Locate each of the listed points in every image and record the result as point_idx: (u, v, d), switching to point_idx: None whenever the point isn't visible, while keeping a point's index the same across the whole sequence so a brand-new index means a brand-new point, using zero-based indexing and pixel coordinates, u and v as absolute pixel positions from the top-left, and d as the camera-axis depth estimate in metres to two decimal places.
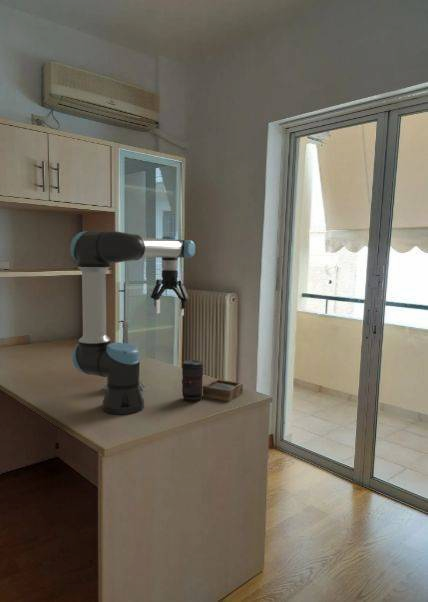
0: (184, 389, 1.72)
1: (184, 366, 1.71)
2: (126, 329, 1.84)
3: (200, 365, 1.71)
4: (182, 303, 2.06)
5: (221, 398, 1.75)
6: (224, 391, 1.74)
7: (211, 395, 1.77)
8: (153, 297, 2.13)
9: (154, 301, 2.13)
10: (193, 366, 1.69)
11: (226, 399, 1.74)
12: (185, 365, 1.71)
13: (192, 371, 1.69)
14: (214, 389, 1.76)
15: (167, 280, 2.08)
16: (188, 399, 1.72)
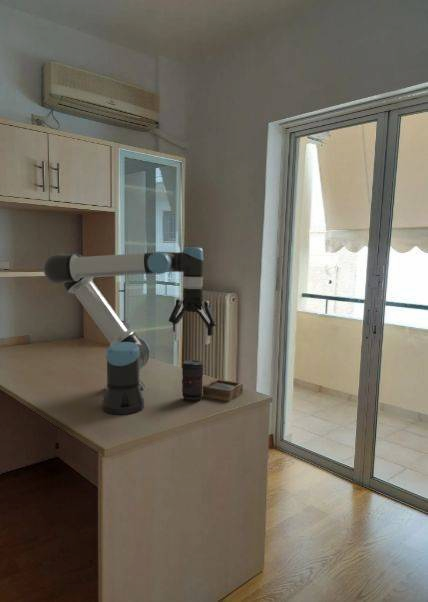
0: (184, 389, 1.72)
1: (184, 366, 1.71)
2: None
3: (200, 365, 1.71)
4: (209, 329, 1.69)
5: (221, 398, 1.75)
6: (224, 391, 1.74)
7: (211, 395, 1.77)
8: (172, 321, 1.76)
9: (173, 325, 1.76)
10: (193, 366, 1.69)
11: (226, 399, 1.74)
12: (185, 365, 1.71)
13: (192, 371, 1.69)
14: (214, 389, 1.76)
15: (190, 301, 1.71)
16: (188, 399, 1.72)
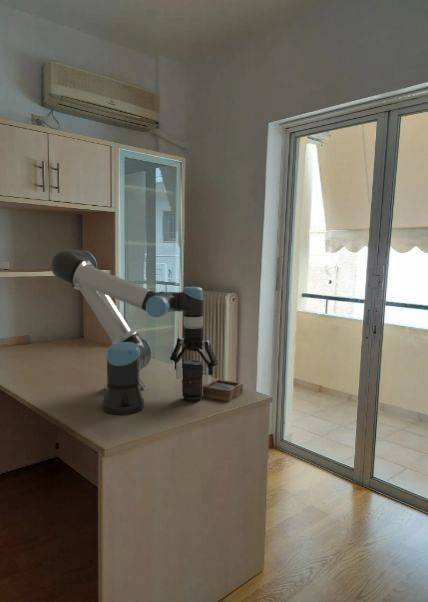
0: (184, 389, 1.72)
1: (184, 366, 1.71)
2: None
3: (200, 365, 1.71)
4: (210, 369, 1.69)
5: (221, 398, 1.75)
6: (224, 391, 1.74)
7: (211, 395, 1.77)
8: (173, 359, 1.77)
9: None
10: (193, 366, 1.69)
11: (226, 399, 1.74)
12: (185, 365, 1.71)
13: (192, 371, 1.69)
14: (214, 389, 1.76)
15: (190, 340, 1.71)
16: (188, 399, 1.72)
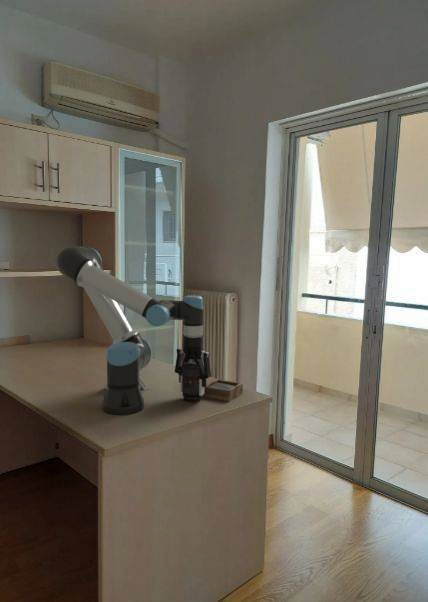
0: (184, 389, 1.72)
1: (184, 366, 1.71)
2: None
3: None
4: (203, 381, 1.71)
5: (221, 398, 1.75)
6: (224, 391, 1.74)
7: (211, 395, 1.77)
8: (177, 372, 1.76)
9: (179, 376, 1.76)
10: (193, 366, 1.69)
11: (226, 399, 1.74)
12: (185, 365, 1.71)
13: (193, 371, 1.69)
14: (214, 389, 1.76)
15: (190, 348, 1.72)
16: (188, 399, 1.72)
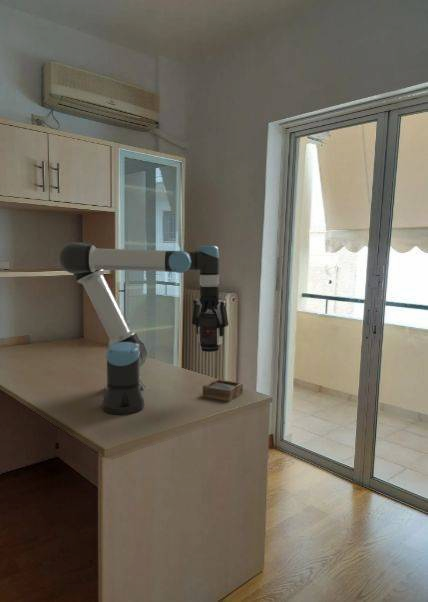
0: (202, 339, 1.72)
1: (201, 316, 1.72)
2: None
3: None
4: (220, 330, 1.71)
5: (221, 398, 1.75)
6: (224, 391, 1.74)
7: (211, 395, 1.77)
8: (195, 323, 1.77)
9: (196, 328, 1.77)
10: (210, 315, 1.70)
11: (226, 399, 1.74)
12: (202, 315, 1.71)
13: (210, 320, 1.70)
14: (214, 389, 1.76)
15: (206, 298, 1.73)
16: (206, 349, 1.72)
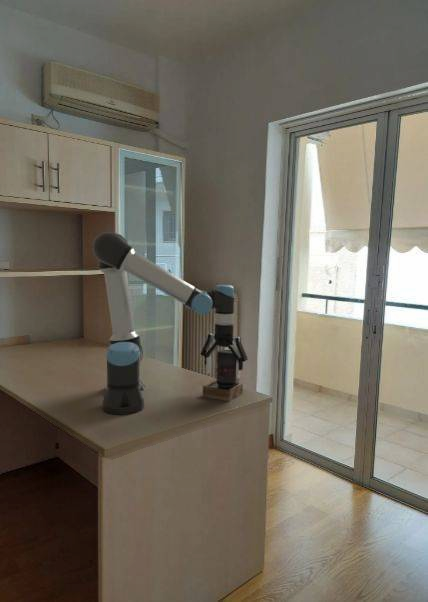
0: (219, 377, 1.77)
1: (218, 355, 1.76)
2: None
3: None
4: (240, 364, 1.75)
5: (221, 398, 1.75)
6: (224, 391, 1.74)
7: (211, 395, 1.77)
8: (203, 354, 1.83)
9: None
10: (228, 355, 1.75)
11: (226, 399, 1.74)
12: (220, 354, 1.76)
13: (228, 359, 1.75)
14: (214, 389, 1.76)
15: (221, 336, 1.78)
16: (223, 387, 1.77)
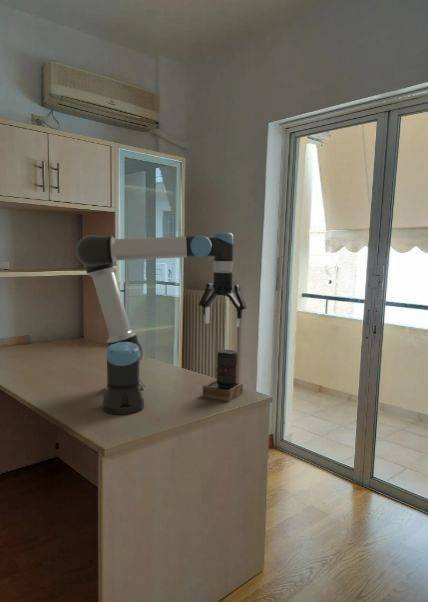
0: (219, 377, 1.77)
1: (219, 355, 1.76)
2: None
3: (235, 354, 1.76)
4: (238, 312, 1.73)
5: (221, 398, 1.75)
6: (224, 391, 1.74)
7: (211, 395, 1.77)
8: (202, 304, 1.81)
9: (203, 309, 1.81)
10: (228, 355, 1.75)
11: (226, 399, 1.74)
12: (220, 354, 1.76)
13: (228, 359, 1.75)
14: (214, 389, 1.76)
15: (220, 284, 1.76)
16: (223, 387, 1.77)
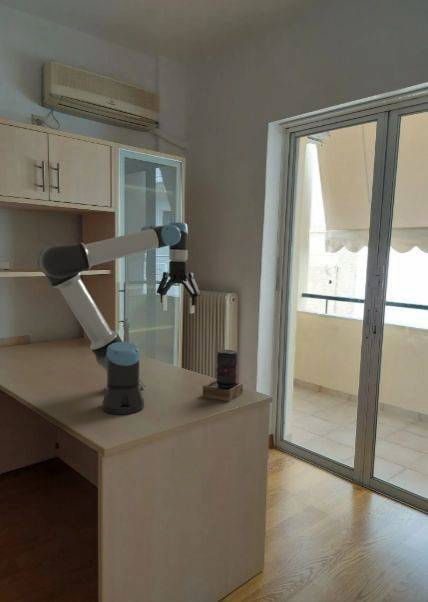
0: (219, 377, 1.77)
1: (219, 355, 1.76)
2: (127, 329, 1.84)
3: (235, 354, 1.76)
4: (193, 299, 1.80)
5: (221, 398, 1.75)
6: (224, 391, 1.74)
7: (211, 395, 1.77)
8: (159, 292, 1.88)
9: None
10: (228, 355, 1.75)
11: (226, 399, 1.74)
12: (220, 354, 1.76)
13: (228, 359, 1.75)
14: (214, 389, 1.76)
15: (175, 273, 1.83)
16: (223, 387, 1.77)
